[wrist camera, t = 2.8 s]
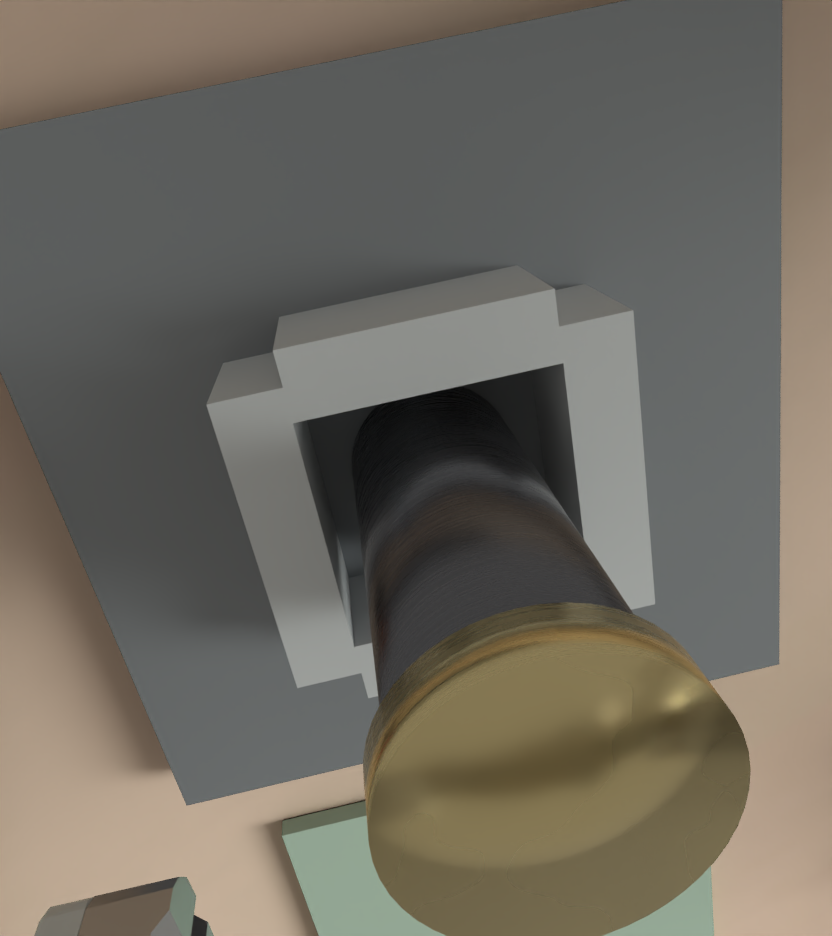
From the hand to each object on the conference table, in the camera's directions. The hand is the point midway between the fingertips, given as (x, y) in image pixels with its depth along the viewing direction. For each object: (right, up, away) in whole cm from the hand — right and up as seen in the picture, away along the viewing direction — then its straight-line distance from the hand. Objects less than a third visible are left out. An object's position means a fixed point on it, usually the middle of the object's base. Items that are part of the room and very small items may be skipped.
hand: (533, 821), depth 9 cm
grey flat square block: (-1, +5, +11) cm, 12 cm away
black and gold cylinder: (-1, +4, +10) cm, 11 cm away
